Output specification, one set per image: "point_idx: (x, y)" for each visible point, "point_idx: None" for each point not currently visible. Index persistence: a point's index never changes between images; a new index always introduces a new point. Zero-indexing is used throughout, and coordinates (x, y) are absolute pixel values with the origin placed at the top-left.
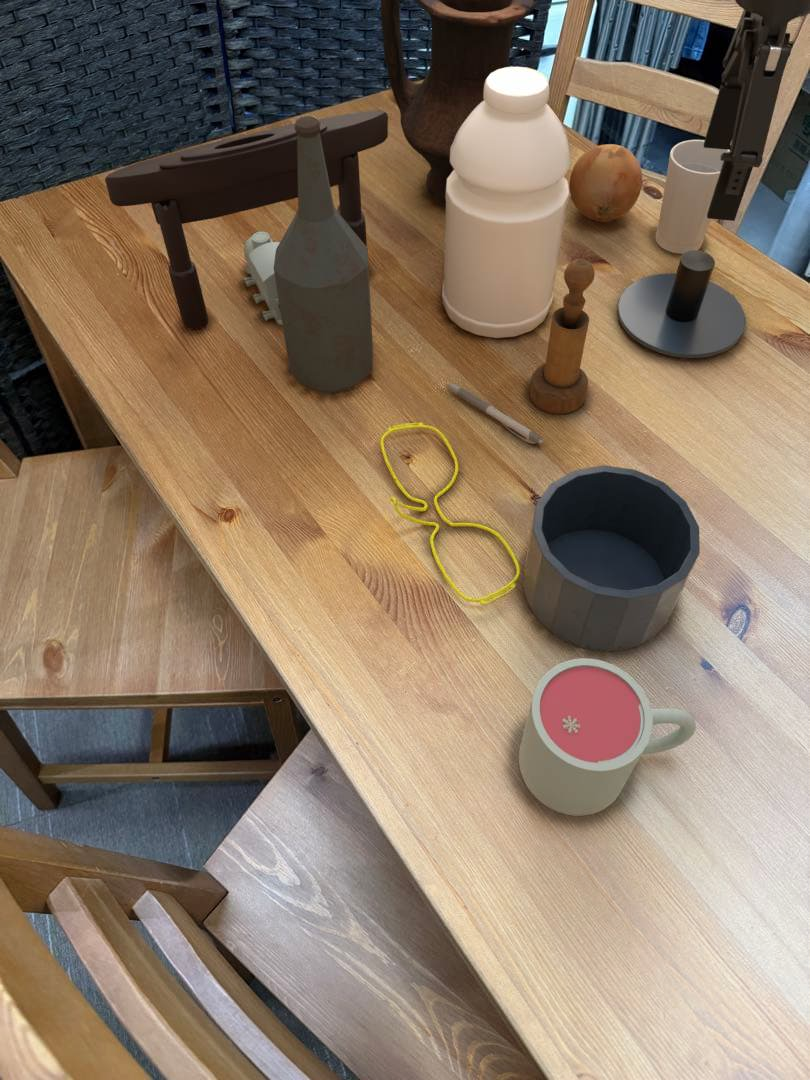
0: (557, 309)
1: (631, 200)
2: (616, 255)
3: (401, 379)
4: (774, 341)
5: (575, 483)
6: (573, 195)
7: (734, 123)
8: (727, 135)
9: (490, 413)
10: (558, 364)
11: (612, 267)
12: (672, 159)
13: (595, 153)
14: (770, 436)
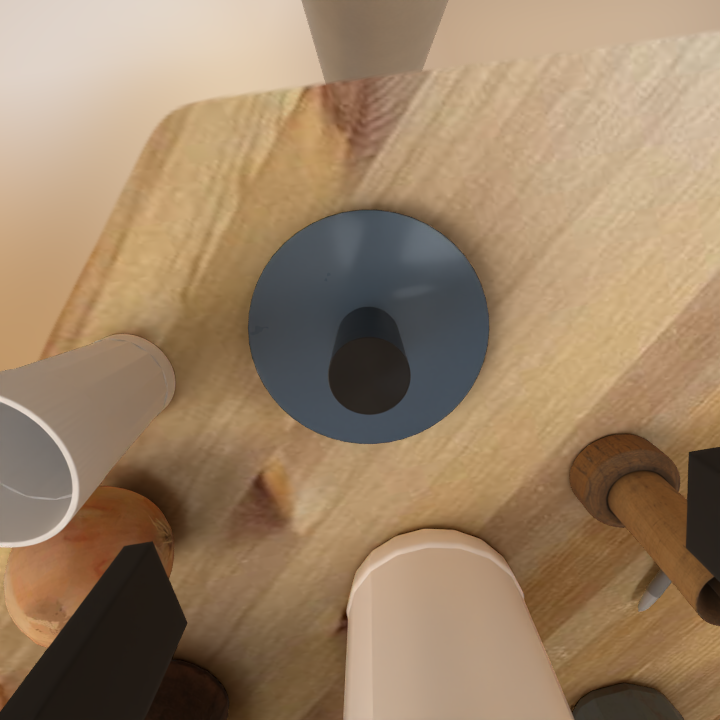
0: (708, 622)
1: (120, 507)
2: (231, 466)
3: (624, 649)
4: (366, 140)
5: None
6: None
7: (80, 665)
8: (128, 615)
9: None
10: None
11: (267, 465)
12: (49, 537)
13: None
14: (651, 107)
